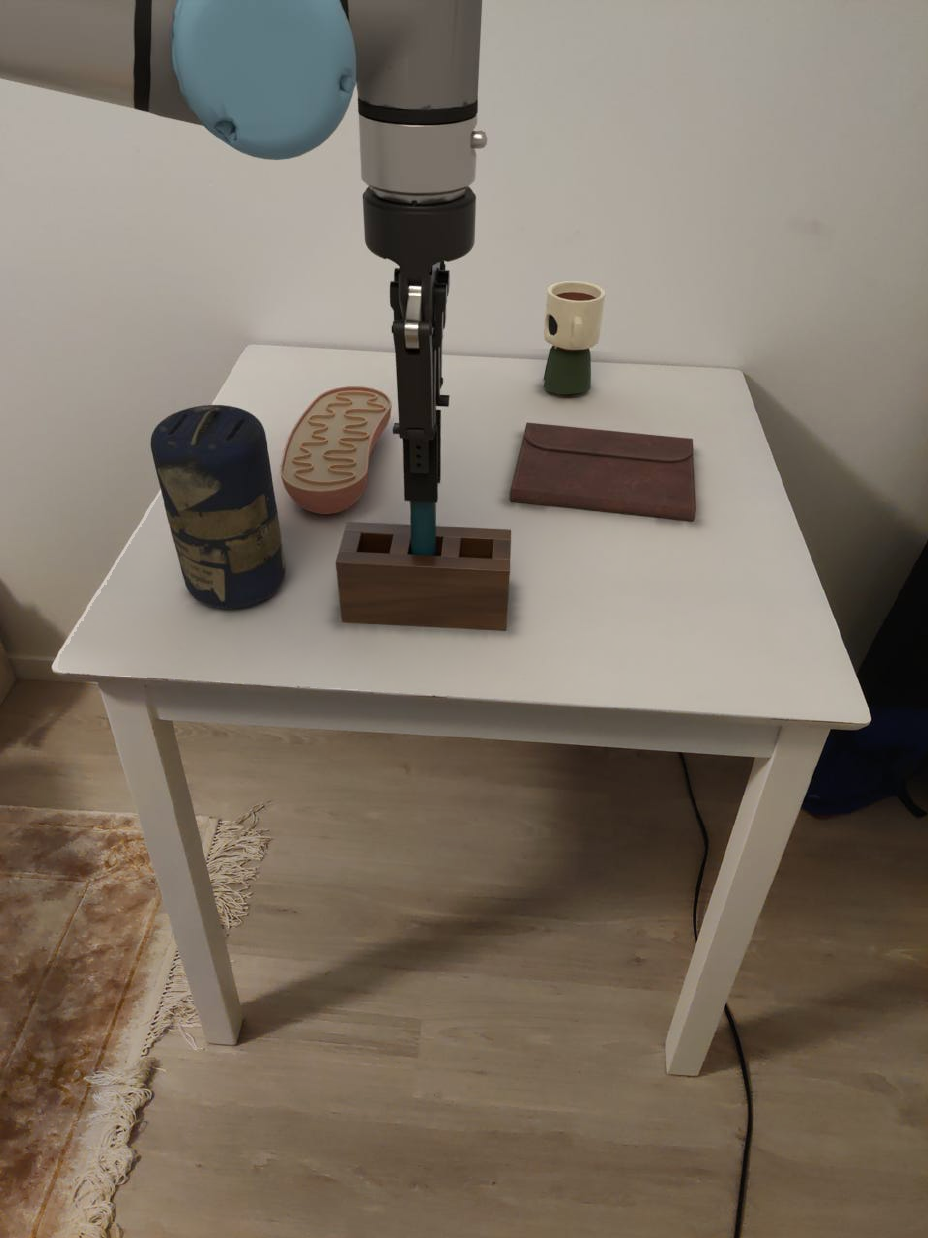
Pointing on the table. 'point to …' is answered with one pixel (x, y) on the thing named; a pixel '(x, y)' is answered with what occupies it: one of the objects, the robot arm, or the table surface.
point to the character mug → (571, 334)
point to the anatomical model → (334, 448)
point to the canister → (220, 504)
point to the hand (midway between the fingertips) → (422, 489)
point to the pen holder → (424, 577)
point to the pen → (423, 526)
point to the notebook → (606, 471)
